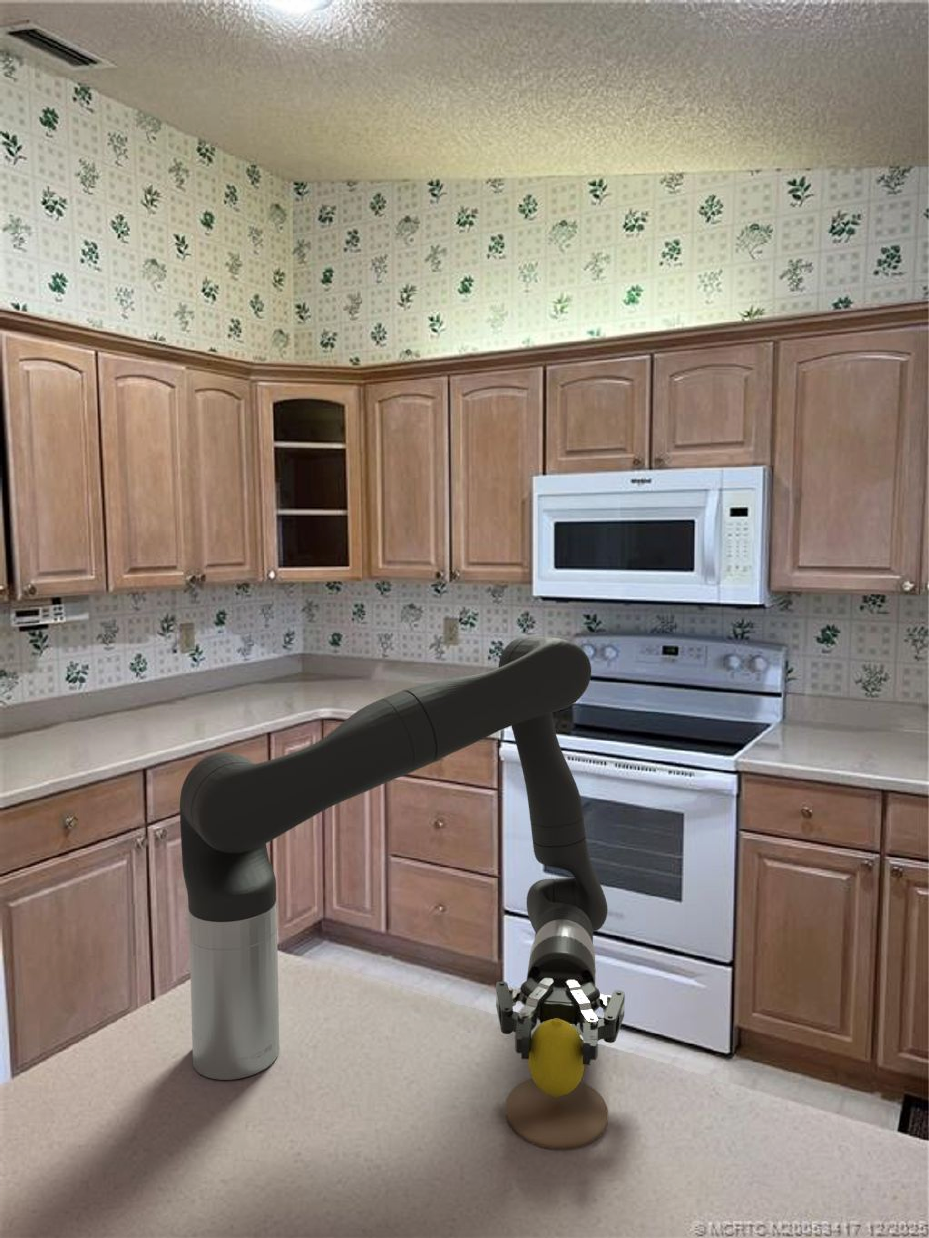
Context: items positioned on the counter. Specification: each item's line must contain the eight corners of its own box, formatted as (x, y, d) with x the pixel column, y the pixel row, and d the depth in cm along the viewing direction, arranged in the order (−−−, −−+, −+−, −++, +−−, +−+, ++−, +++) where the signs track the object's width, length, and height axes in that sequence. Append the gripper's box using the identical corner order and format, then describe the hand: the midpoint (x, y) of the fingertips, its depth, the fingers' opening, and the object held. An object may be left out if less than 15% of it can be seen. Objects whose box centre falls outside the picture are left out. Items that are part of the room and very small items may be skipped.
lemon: (582, 1118, 82) (583, 1038, 82) (524, 1110, 83) (524, 1031, 83) (585, 1082, 88) (587, 1007, 87) (531, 1075, 89) (532, 1001, 88)
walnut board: (484, 1111, 86) (484, 1103, 86) (553, 1071, 93) (553, 1063, 93) (559, 1165, 79) (559, 1157, 79) (628, 1117, 85) (628, 1109, 85)
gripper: (499, 930, 100) (480, 1009, 83) (626, 938, 98) (633, 1021, 81) (499, 992, 100) (480, 1083, 84) (625, 1001, 98) (631, 1097, 82)
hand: (555, 1052), depth 82 cm, fingers closed on lemon, 5 cm apart
